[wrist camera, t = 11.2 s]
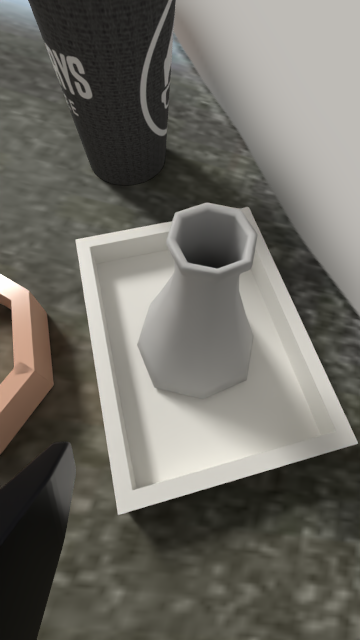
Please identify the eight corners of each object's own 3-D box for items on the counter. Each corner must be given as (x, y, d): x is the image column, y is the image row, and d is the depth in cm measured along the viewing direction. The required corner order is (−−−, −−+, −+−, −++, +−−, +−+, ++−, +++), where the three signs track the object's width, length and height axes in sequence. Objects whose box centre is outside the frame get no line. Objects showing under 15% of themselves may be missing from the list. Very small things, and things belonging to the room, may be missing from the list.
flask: (263, 395, 19) (345, 323, 10) (139, 405, 18) (105, 341, 9) (242, 288, 22) (290, 159, 13) (135, 295, 22) (107, 167, 13)
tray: (335, 447, 18) (358, 443, 16) (125, 509, 17) (118, 515, 15) (241, 230, 25) (248, 206, 23) (85, 262, 23) (75, 239, 21)
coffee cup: (118, 110, 31) (74, -173, 17) (203, 149, 29) (229, -140, 15) (48, 168, 27) (-75, -130, 14) (138, 217, 25) (97, -79, 12)
